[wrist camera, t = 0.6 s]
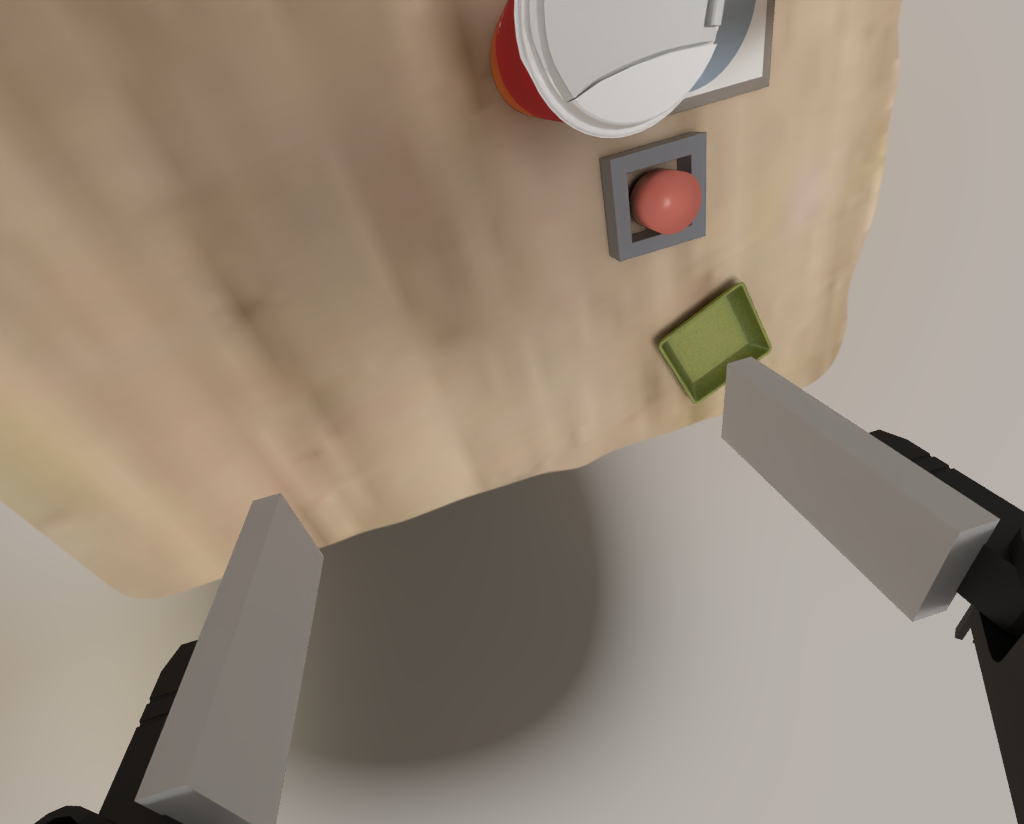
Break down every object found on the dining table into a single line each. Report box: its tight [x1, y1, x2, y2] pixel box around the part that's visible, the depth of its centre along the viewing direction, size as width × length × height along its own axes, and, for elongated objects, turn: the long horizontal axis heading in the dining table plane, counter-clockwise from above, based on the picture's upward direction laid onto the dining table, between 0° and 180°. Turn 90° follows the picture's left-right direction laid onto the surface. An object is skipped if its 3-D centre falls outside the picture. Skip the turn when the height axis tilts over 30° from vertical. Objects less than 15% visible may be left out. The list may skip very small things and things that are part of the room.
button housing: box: [600, 132, 706, 261], centre depth 34 cm, size 7×7×2 cm
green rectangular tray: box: [658, 282, 772, 404], centre depth 42 cm, size 9×9×2 cm
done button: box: [630, 168, 702, 235], centre depth 32 cm, size 4×4×3 cm
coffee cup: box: [490, 0, 725, 138], centre depth 23 cm, size 8×8×15 cm
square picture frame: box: [668, 0, 775, 115], centre depth 28 cm, size 11×12×1 cm
